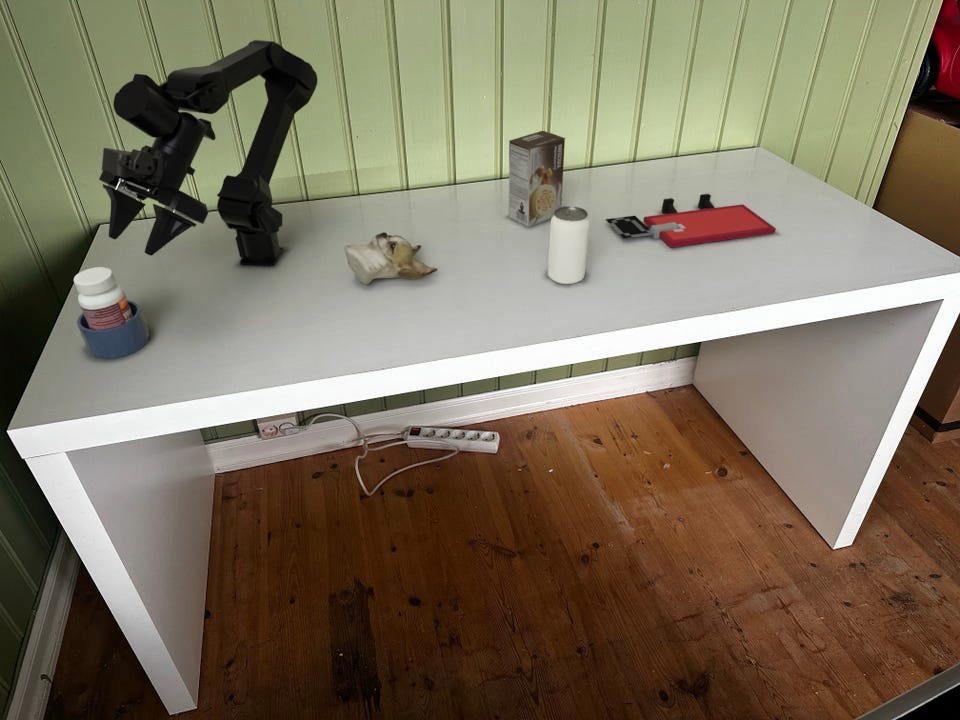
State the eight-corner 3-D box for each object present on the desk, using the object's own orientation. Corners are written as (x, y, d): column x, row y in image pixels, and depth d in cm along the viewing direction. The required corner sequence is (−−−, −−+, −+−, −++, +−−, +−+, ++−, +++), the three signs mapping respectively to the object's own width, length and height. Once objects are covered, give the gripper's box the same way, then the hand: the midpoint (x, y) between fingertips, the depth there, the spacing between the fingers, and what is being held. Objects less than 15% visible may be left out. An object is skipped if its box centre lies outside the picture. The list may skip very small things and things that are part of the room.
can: (560, 289, 117) (565, 224, 110) (540, 272, 122) (543, 209, 115) (591, 280, 120) (598, 216, 112) (571, 264, 124) (576, 202, 117)
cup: (159, 327, 109) (150, 300, 106) (133, 360, 102) (122, 332, 99) (107, 325, 110) (96, 298, 107) (77, 357, 103) (65, 330, 100)
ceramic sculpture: (336, 224, 118) (420, 215, 123) (340, 269, 123) (420, 258, 128) (350, 252, 110) (439, 241, 115) (353, 298, 115) (438, 285, 120)
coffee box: (540, 205, 145) (543, 129, 135) (561, 215, 141) (566, 137, 131) (507, 217, 140) (508, 139, 130) (528, 228, 136) (531, 148, 126)
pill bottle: (144, 342, 105) (120, 278, 98) (100, 356, 102) (73, 290, 95) (135, 323, 109) (111, 261, 102) (93, 336, 106) (66, 272, 100)
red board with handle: (600, 219, 138) (633, 254, 127) (602, 206, 136) (636, 241, 125) (731, 203, 145) (774, 235, 133) (734, 190, 143) (777, 221, 132)
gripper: (89, 112, 100) (44, 209, 99) (167, 135, 91) (117, 242, 91) (153, 149, 110) (112, 238, 109) (228, 174, 101) (184, 270, 100)
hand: (129, 246), depth 102 cm, fingers open, 9 cm apart
